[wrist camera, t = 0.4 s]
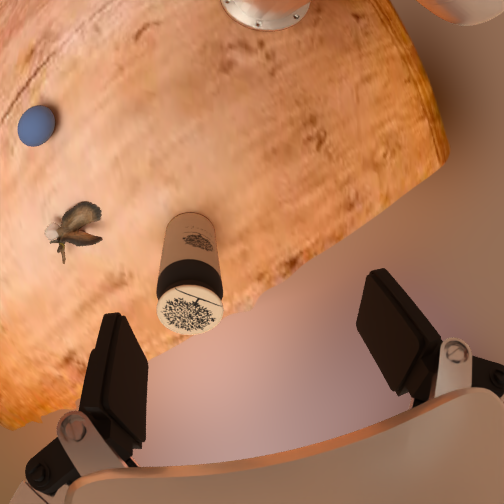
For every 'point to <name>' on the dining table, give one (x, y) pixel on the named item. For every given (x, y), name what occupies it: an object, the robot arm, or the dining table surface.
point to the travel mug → (189, 277)
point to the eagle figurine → (74, 227)
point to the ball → (36, 126)
